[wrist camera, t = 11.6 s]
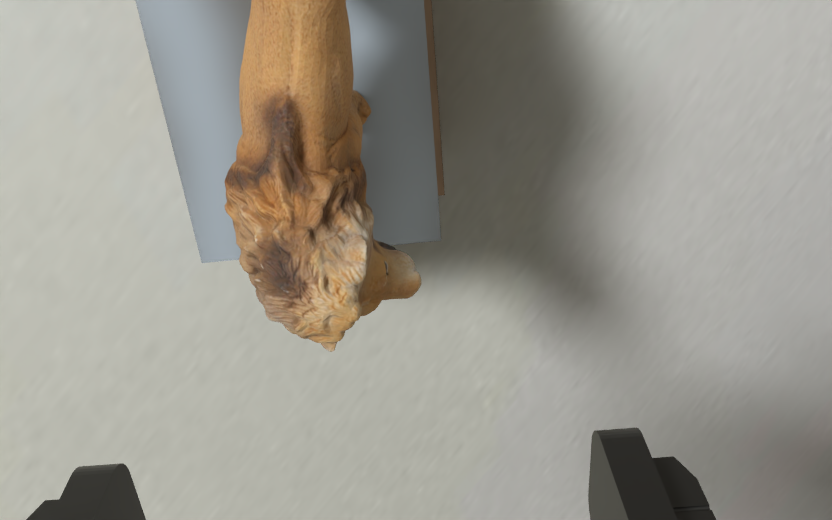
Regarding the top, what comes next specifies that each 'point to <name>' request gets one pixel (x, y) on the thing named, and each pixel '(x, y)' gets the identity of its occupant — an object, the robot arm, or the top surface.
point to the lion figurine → (307, 176)
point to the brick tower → (373, 79)
